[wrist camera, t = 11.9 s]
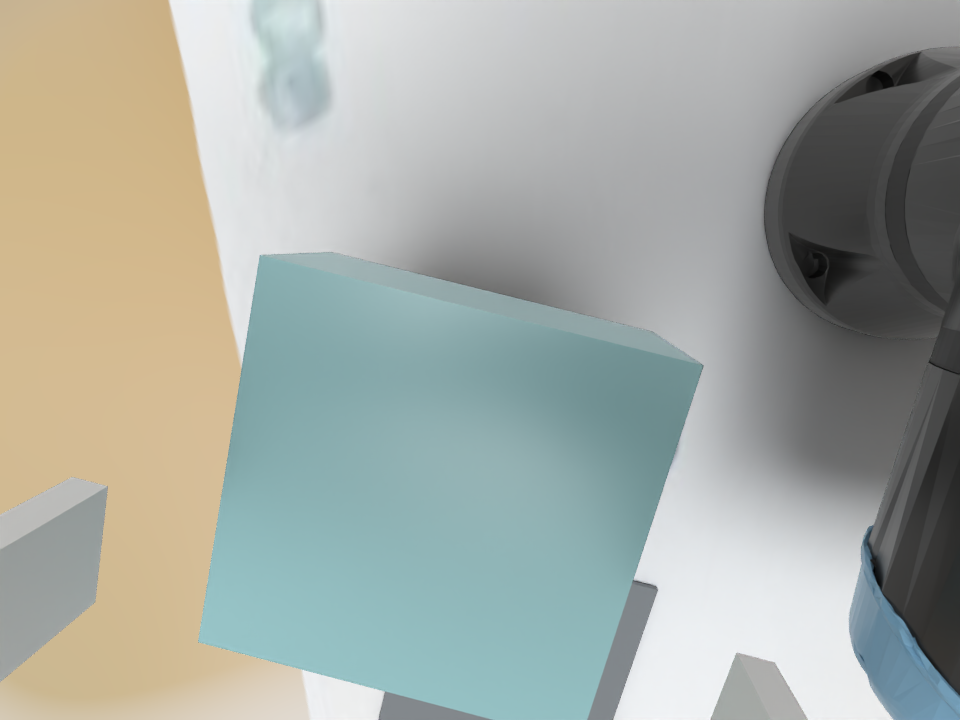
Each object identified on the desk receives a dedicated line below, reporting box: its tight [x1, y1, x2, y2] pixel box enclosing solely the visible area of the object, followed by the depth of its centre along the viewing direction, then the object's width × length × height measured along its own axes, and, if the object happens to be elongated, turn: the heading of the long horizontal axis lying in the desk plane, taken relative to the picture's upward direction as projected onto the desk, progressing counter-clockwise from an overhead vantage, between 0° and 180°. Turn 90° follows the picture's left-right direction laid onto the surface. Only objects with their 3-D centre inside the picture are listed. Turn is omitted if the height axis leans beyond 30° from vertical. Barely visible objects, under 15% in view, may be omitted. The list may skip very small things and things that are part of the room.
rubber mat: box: [379, 581, 658, 720], centre depth 41 cm, size 16×16×1 cm
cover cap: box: [198, 252, 703, 720], centre depth 20 cm, size 12×12×6 cm
